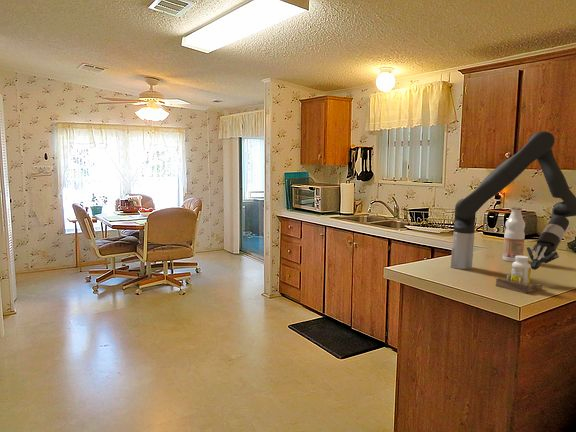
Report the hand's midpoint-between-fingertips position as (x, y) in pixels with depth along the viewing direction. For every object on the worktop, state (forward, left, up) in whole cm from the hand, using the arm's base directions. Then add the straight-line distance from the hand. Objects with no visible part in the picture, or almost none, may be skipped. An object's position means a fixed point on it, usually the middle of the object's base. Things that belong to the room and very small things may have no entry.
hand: (533, 268), depth 174 cm
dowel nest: (-5, -9, -7) cm, 12 cm away
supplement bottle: (-5, -9, -7) cm, 12 cm away
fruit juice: (-7, +47, -7) cm, 48 cm away
